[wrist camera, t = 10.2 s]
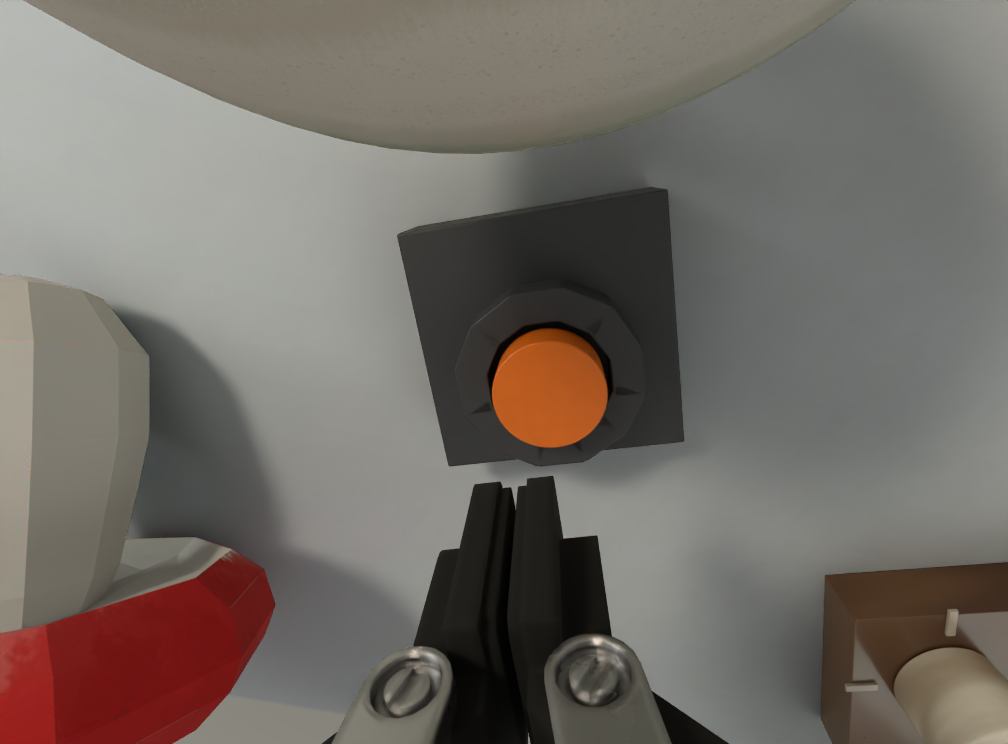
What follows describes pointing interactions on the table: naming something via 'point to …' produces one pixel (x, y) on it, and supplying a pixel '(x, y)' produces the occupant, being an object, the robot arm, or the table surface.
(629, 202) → the button base
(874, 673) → the dial panel
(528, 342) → the orange push button
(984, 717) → the dial
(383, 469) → the table surface
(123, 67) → the table surface
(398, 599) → the table surface
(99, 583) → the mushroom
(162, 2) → the planter
